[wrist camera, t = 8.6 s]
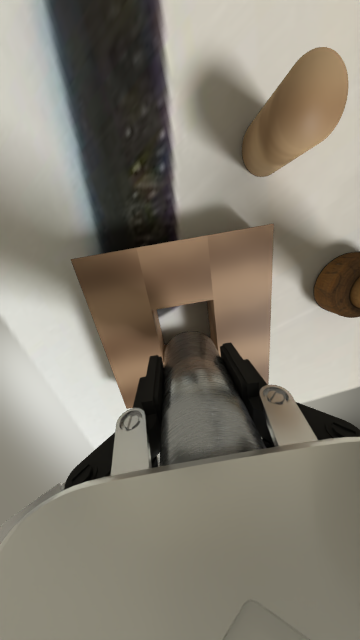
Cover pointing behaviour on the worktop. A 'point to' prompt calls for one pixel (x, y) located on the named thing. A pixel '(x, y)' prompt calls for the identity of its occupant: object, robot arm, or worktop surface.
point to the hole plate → (181, 297)
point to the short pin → (297, 112)
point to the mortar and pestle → (340, 286)
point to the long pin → (201, 405)
